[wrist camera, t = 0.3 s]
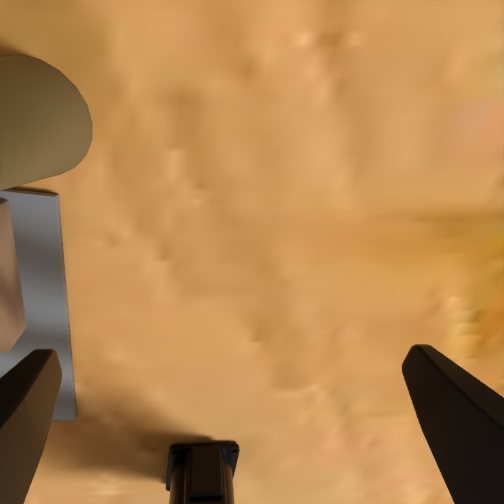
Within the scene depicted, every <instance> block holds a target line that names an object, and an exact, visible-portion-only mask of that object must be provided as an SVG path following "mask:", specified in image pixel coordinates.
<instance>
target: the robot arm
mask: <svg viewBox="0 0 504 504" xmlns="http://www.w3.org/2000/svg"><path fill="white" fill-rule="evenodd" d="M402 373H403V376H404V379H405V382H406V385H407V388H408V391H409V394H410V397H411V400H412V403H413V406H414V409H415V412H416V415H417V418H418V421H419V423H420V426H421V429H422V431H423V433H424V436H425V438H426V440H427V443H428V445H429V447H430V449H431V452H432V454H433V456H434V458H435V461H436V463H437V465H438V467H439V470H440V472H441V474H442V476H443V479H444V481H445V483H446V485H447V488H448V490H449V492H450V495H451V497H452V499H453V501H454V504H504V398H503V397H502V396H501V395H499V394H498V393H496V392H495V391H494V390H492V389H491V388H489V387H488V386H487V385H485V384H484V383H482V382H481V381H480V380H478V379H477V378H475V377H474V376H473V375H471V374H470V373H468V372H467V371H466V370H464V369H463V368H461V367H460V366H459V365H457V364H456V363H454V362H453V361H452V360H450V359H449V358H447V357H446V356H445V355H443V354H442V353H440V352H439V351H437V350H436V349H435V348H433V347H432V346H430V345H427V344H416V345H413V346H412V347H411V349H410V350H409V352H408V354H407V356H406V358H405V360H404V362H403V364H402ZM61 382H62V369H61V366H60V362H59V358H58V355H57V352H56V350H55V349H52V348H47V349H35V350H33V351H31V352H30V353H29V354H28V355H27V356H25V357H24V358H23V359H22V360H21V361H19V362H18V363H17V364H16V365H15V366H14V367H12V368H11V369H10V370H9V371H8V372H6V373H5V374H4V375H3V376H2V377H1V378H0V504H23V503H24V501H25V498H26V495H27V493H28V490H29V488H30V485H31V482H32V480H33V477H34V474H35V472H36V469H37V466H38V464H39V461H40V458H41V455H42V453H43V450H44V446H45V443H46V439H47V435H48V432H49V428H50V424H51V420H52V416H53V412H54V409H55V405H56V401H57V397H58V393H59V389H60V386H61ZM238 455H239V445H238V444H187V445H172V446H171V447H170V448H169V459H168V470H167V481H166V490H167V491H170V500H169V504H234V491H233V476H234V472H235V468H236V464H237V459H238Z"/></svg>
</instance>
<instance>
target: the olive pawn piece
mask: <svg viewBox="0 0 504 504" xmlns="http://www.w3.org/2000/svg"><path fill="white" fill-rule="evenodd" d="M91 142H92V120H91V117H90V113H89V110H88V106H87V104H86V102H85V100H84V99H83V97H82V95H81V94H80V92H79V91H78V89H77V87H76V86H75V85H74V84H73V83H72V82H71V81H70V80H69V79H68V78H67V77H66V76H65V75H64V74H63V73H62V72H61V71H59V70H58V69H56V68H54V67H52V66H51V65H49V64H47V63H45V62H43V61H42V60H40V59H36V58H32V57H27V56H23V55H19V54H18V55H7V56H0V191H1V190H5V189H9V188H12V187H16V186H19V185H23V184H27V183H30V182H34V181H38V180H41V179H45V178H49V177H52V176H56V175H60V174H62V173H64V172H66V171H69V170H71V169H73V168H75V167H76V166H77V165H78V164H79V163H80V162H81V161H82V160H83V158H84V157H85V156H86V155H87V152H88V150H89V147H90V144H91Z"/></svg>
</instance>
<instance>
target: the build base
mask: <svg viewBox="0 0 504 504" xmlns="http://www.w3.org/2000/svg"><path fill="white" fill-rule="evenodd" d="M47 348H52V349H55V350H56V352H57V355H58V358H59V362H60V366H61V369H62V382H61V386H60V389H59V393H58V397H57V401H56V405H55V409H54V412H53V416H52V420H51V421H75V419H76V416H77V410H76V398H75V386H74V374H73V362H72V350H71V338H70V326H69V314H68V302H67V290H66V278H65V266H64V254H63V242H62V230H61V218H60V206H59V194H50V193H41V192H33V191H24V190H15V189H5V190H1V191H0V378H1V377H2V376H3V375H4V374H5V373H6V372H8V371H9V370H10V369H11V368H12V367H14V366H15V365H16V364H17V363H18V362H19V361H21V360H22V359H23V358H24V357H25V356H27V355H28V354H29V353H30V352H31V351H33V350H35V349H47Z"/></svg>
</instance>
